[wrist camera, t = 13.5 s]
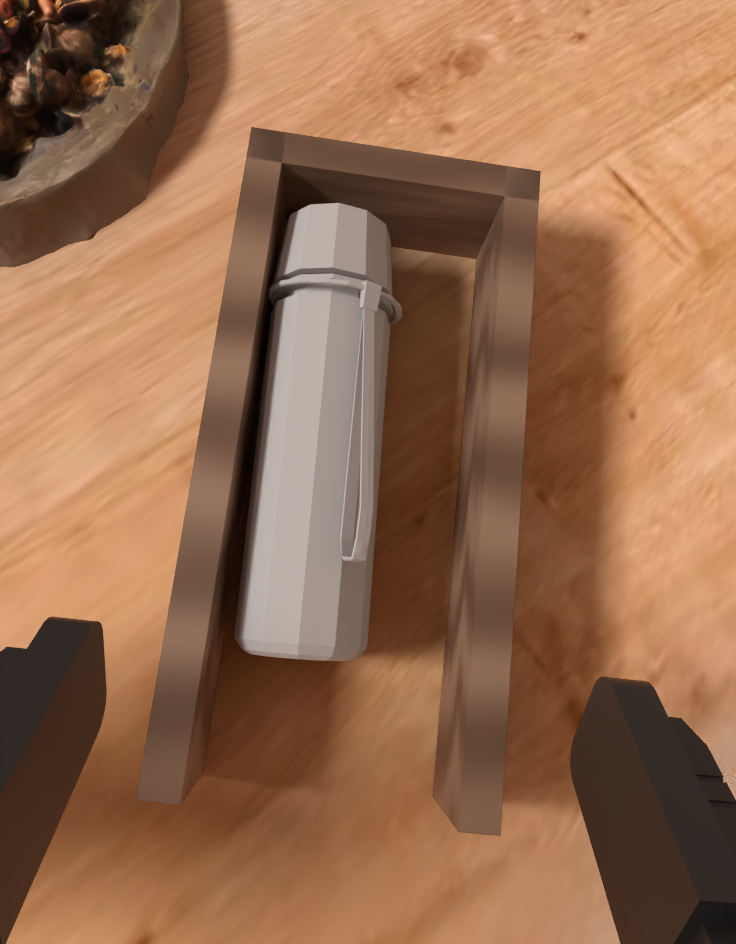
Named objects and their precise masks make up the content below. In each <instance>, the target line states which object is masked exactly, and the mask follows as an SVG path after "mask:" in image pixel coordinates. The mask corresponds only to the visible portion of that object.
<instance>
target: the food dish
mask: <svg viewBox="0 0 736 944" xmlns="http://www.w3.org/2000/svg"><path fill="white" fill-rule="evenodd" d="M183 18H184V4H183V0H0V267H4V266H6V267H16V266H20V265H22V264H26V263H29V262H31V261H33V260H36V259H38V258H40V257H42V256H44V255H46V254H49V253H53V252H55V251H56V250H58V249H60V248H62V247H64V246H66V245H68V244H73V243H75V242H80V241H86V240H90V239H92V238H93V237H94V236H95V234H96V232H97V231H98V230H100V229H102V228H104V227H106V226H107V225H109V224H111V223H112V222H114V221H115V220H117V219H118V218H120V217H122V216H123V215H125V214H126V213H127V212H129V211H130V210H131V209H132V208H134V207H135V206H136V205H138V204H140V203H141V202H142V201H143V200H145V198H146V195H147V193H148V188H149V181H150V174H151V171H152V169H153V167H154V165H155V163H156V159H157V156H158V153H159V151H160V148H161V147H162V146H163V145H164V143H165V142H166V141H167V140H168V138H169V137H170V135H171V132H172V129H173V126H174V122H175V120H176V115H177V111H178V109H179V108H180V106H181V105H182V103H183V99H184V95H185V91H186V87H187V82H188V78H189V74H188V71H187V67H186V63H185V58H184V53H183V37H182V22H183Z"/></svg>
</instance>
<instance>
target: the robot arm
mask: <svg viewBox="0 0 736 944" xmlns="http://www.w3.org/2000/svg"><path fill="white" fill-rule="evenodd" d="M105 705H106V674H105V658H104V641H103V629H102V625H101V623H100V622H97V621H87V620H78V619H68V618H59V617H49V618H48V619H47V620H46V621H45V622H44V623H43V625H42V626H41V628H40V629H39V631H38V632H37V634H36V636H35V637H34V639H33V640H32V642H31V643H30V645H29V647H28V648H27V649H23V648H13V647H6V648H5V649H4V650H2V651H1V652H0V944H6V942H7V939H8V937H9V935H10V933H11V930H12V928H13V926H14V924H15V921H16V919H17V917H18V914H19V912H20V910H21V908H22V905H23V903H24V901H25V898H26V896H27V894H28V892H29V889H30V887H31V885H32V883H33V880H34V878H35V876H36V873H37V871H38V869H39V867H40V864H41V862H42V860H43V857H44V855H45V853H46V851H47V848H48V846H49V844H50V842H51V839H52V837H53V835H54V832H55V830H56V828H57V826H58V823H59V821H60V819H61V816H62V814H63V812H64V810H65V807H66V805H67V803H68V801H69V798H70V796H71V794H72V791H73V789H74V787H75V785H76V782H77V780H78V778H79V775H80V773H81V771H82V769H83V766H84V764H85V762H86V760H87V757H88V755H89V753H90V750H91V748H92V746H93V744H94V741H95V739H96V737H97V734H98V732H99V729H100V726H101V723H102V719H103V715H104V711H105ZM570 763H571V774H572V780H573V784H574V787H575V790H576V794H577V797H578V800H579V804H580V807H581V811H582V814H583V817H584V821H585V824H586V828H587V831H588V834H589V838H590V841H591V845H592V848H593V851H594V855H595V858H596V862H597V865H598V868H599V872H600V875H601V879H602V882H603V885H604V889H605V892H606V896H607V899H608V902H609V906H610V909H611V912H612V916H613V919H614V923H615V926H616V929H617V933H618V936H619V940H620V943H621V944H736V800H735V798H734V796H733V794H732V792H731V790H730V789H729V787H728V785H727V783H724V782H723V775H722V773H721V771H720V769H719V767H718V766H717V764H716V762H715V760H714V758H713V756H712V754H711V752H710V750H709V748H708V746H707V745H706V744H705V743H704V742H703V741H702V740H701V739H700V738H699V737H698V736H697V735H696V734H695V732H694V731H693V730H692V729H691V728H690V727H689V726H688V725H687V724H686V723H685V722H684V721H683V720H682V719H681V718H674V717H668V716H667V714H666V712H665V709H664V707H663V705H662V703H661V701H660V699H659V697H658V695H657V693H656V691H655V689H654V687H653V686H652V685H651V684H650V683H649V682H646V681H638V680H628V679H619V678H609V677H601V678H599V679H598V680H597V681H596V683H595V685H594V687H593V690H592V692H591V695H590V698H589V700H588V703H587V705H586V708H585V711H584V713H583V716H582V718H581V721H580V724H579V726H578V729H577V731H576V734H575V736H574V739H573V743H572V747H571V760H570Z"/></svg>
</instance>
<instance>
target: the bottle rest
mask: <svg viewBox="0 0 736 944" xmlns="http://www.w3.org/2000/svg"><path fill="white" fill-rule="evenodd" d="M539 187H540V171H535V170H528V169H522V168H515V167H509V166H502V165H496V164H489V163H483V162H476V161H470V160H463V159H456V158H450V157H443V156H437V155H430V154H424V153H417V152H411V151H404V150H398V149H391V148H384V147H378V146H371V145H365V144H358V143H352V142H345V141H339V140H332V139H326V138H319V137H312V136H306V135H299V134H293V133H286V132H280V131H273V130H267V129H260V128H254V127H252V128H251V134H250V140H249V146H248V151H247V157H246V163H245V169H244V175H243V181H242V186H241V192H240V198H239V204H238V210H237V215H236V221H235V227H234V233H233V239H232V245H231V250H230V256H229V262H228V268H227V274H226V279H225V285H224V291H223V297H222V303H221V308H220V314H219V320H218V326H217V332H216V338H215V343H214V349H213V355H212V361H211V367H210V372H209V378H208V384H207V390H206V396H205V402H204V407H203V413H202V419H201V425H200V431H199V436H198V442H197V448H196V454H195V460H194V466H193V471H192V477H191V483H190V489H189V495H188V500H187V506H186V512H185V518H184V524H183V530H182V535H181V541H180V547H179V553H178V559H177V564H176V570H175V576H174V582H173V588H172V594H171V599H170V605H169V611H168V617H167V623H166V628H165V634H164V640H163V646H162V652H161V658H160V663H159V669H158V675H157V681H156V687H155V692H154V698H153V704H152V710H151V716H150V722H149V727H148V733H147V739H146V745H145V751H144V756H143V762H142V768H141V774H140V780H139V786H138V791H137V797H136V801H143V802H153V803H164V804H174V805H180V804H181V803H182V802H183V800H184V799H185V797H186V796H187V795H188V793H189V792H190V791H191V789H192V788H193V786H194V785H195V784H196V782H197V781H198V780H199V778H200V777H201V775H202V774H203V768H204V762H205V755H206V749H207V742H208V735H209V729H210V722H211V716H212V709H213V703H214V696H215V690H216V683H217V677H218V670H219V664H220V657H221V650H222V644H223V637H224V631H225V624H226V618H227V611H228V605H229V598H230V592H231V585H232V578H233V572H234V565H235V559H236V552H237V546H238V539H239V533H240V526H241V520H242V513H243V506H244V500H245V493H246V487H247V480H248V474H249V467H250V461H251V454H252V448H253V441H254V434H255V428H256V421H257V415H258V408H259V402H260V395H261V389H262V382H263V376H264V369H265V360H266V352H267V343H268V334H269V325H270V316H271V313H272V310H273V308H274V306H273V305H272V303H271V301H270V299H269V297H268V294H269V289H270V287H271V286H272V284H273V279H274V275H275V270H276V266H277V261H278V257H279V252H280V248H281V243H282V239H283V234H284V230H285V227H286V224H287V222H288V219H289V217H290V214H292V213H294V212H296V211H298V210H300V209H302V208H304V207H306V206H308V205H311V204H328V203H341V204H345V205H349V206H353V207H356V208H360V209H364V210H367V211H369V212H370V213H371V214H373V215H374V216H375V217H377V218H378V219H380V220H381V221H382V222H384V223H385V224H386V226H387V229H388V233H389V236H390V239H391V246H393V247H400V248H407V249H414V250H420V251H427V252H434V253H441V254H448V255H455V256H462V257H469V258H476V259H477V260H476V272H475V285H474V297H473V309H472V322H471V334H470V346H469V358H468V371H467V383H466V395H465V407H464V420H463V432H462V444H461V457H460V469H459V481H458V493H457V506H456V518H455V530H454V542H453V555H452V567H451V579H450V591H449V604H448V616H447V628H446V641H445V653H444V665H443V677H442V690H441V702H440V714H439V726H438V739H437V751H436V763H435V775H434V788H433V798H434V799H435V801H436V802H437V803H438V805H439V806H440V807H441V809H442V810H443V811H444V813H445V814H446V815H447V817H448V818H449V820H450V821H451V822H452V824H453V825H454V826H455V828H456V829H457V830H458V832H463V833H473V834H484V835H494V836H501V819H502V803H503V786H504V770H505V753H506V736H507V720H508V703H509V686H510V670H511V653H512V636H513V620H514V603H515V587H516V570H517V553H518V537H519V520H520V503H521V487H522V470H523V454H524V437H525V420H526V404H527V387H528V370H529V354H530V337H531V320H532V304H533V287H534V271H535V254H536V237H537V221H538V204H539Z"/></svg>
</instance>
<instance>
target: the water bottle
mask: <svg viewBox="0 0 736 944" xmlns="http://www.w3.org/2000/svg"><path fill="white" fill-rule="evenodd" d="M268 297H269V299H270V301H271V303H272V305H273V306H274V308H273V310H272V313H271V316H270V325H269V334H268V343H267V352H266V360H265V369H264V378H263V387H262V395H261V404H260V413H259V422H258V431H257V439H256V448H255V457H254V466H253V475H252V483H251V492H250V501H249V510H248V518H247V527H246V536H245V545H244V554H243V562H242V571H241V580H240V589H239V598H238V606H237V615H236V624H235V633H234V638H235V640H236V641H237V643H238V645H239V646H240V648H241V649H243V650H244V651H245V652H247V653H249V654H252V655H260V656H268V657H279V658H290V659H304V660H320V661H352V660H354V659H356V658H358V657H360V656H361V655H362V653H363V652H364V651H365V649H366V648H367V644H368V630H369V616H370V602H371V588H372V574H373V561H374V547H375V533H376V519H377V505H378V491H379V477H380V464H381V450H382V436H383V422H384V408H385V394H386V381H387V367H388V353H389V339H390V326H392V325H394V324H395V323H396V322H398V321H399V320H400V319H401V318H402V308H401V305H400V304H399V303H398V302H397V301H396V300H395V299H394V298H393V297H392V265H391V239H390V236H389V233H388V229H387V226H386V224H385V223H384V222H382V221H381V220H380V219H378V218H377V217H375V216H374V215H373V214H371V213H370V212H369V211H367V210H364V209H360V208H356V207H353V206H349V205H345V204H341V203H328V204H311V205H308V206H306V207H304V208H302V209H300V210H298V211H296V212H294V213H292V214H290V217H289V219H288V222H287V224H286V227H285V230H284V234H283V239H282V243H281V248H280V252H279V257H278V261H277V266H276V270H275V275H274V279H273V284H272V286H271V287H270V289H269V294H268ZM392 305H393V306H394V308H395V310H396V316H395V317H394V318H393V319H392V320H391V321H388V319H389V317H390V316H391V315H392V314H393V309H392Z"/></svg>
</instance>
